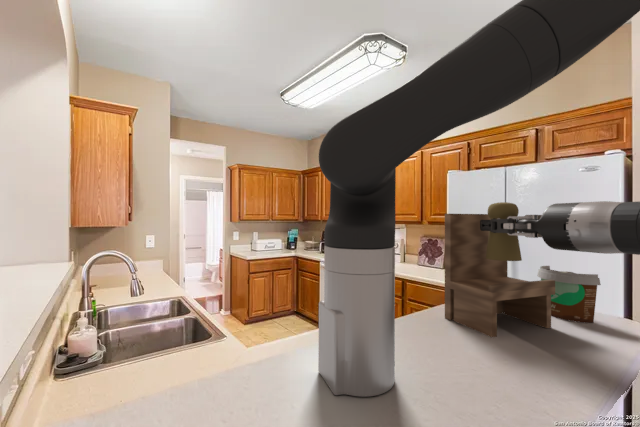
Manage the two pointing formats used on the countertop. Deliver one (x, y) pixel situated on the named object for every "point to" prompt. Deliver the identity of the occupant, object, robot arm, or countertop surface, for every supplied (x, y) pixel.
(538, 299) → the wooden chair
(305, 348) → the countertop surface
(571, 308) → the food container
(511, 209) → the cork
